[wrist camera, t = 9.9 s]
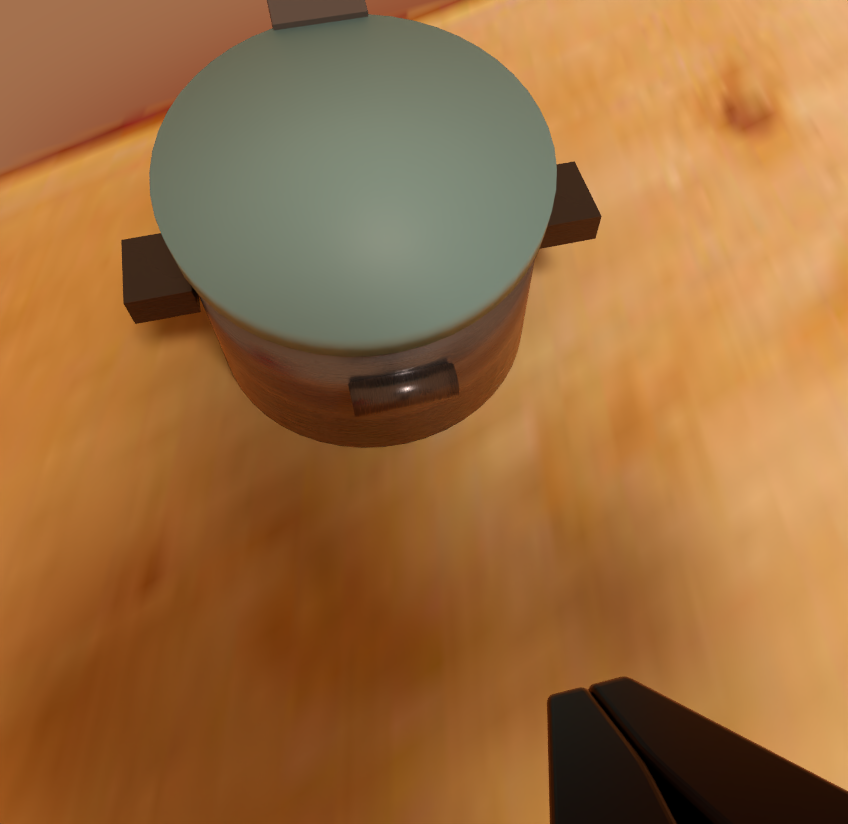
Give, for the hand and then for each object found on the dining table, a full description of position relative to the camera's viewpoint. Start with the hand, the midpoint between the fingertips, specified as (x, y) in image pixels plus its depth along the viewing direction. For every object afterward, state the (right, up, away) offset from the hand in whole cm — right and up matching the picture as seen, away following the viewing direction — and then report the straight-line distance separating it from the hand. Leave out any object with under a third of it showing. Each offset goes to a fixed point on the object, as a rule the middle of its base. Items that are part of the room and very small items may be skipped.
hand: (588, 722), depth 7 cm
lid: (-4, +12, +15) cm, 20 cm away
